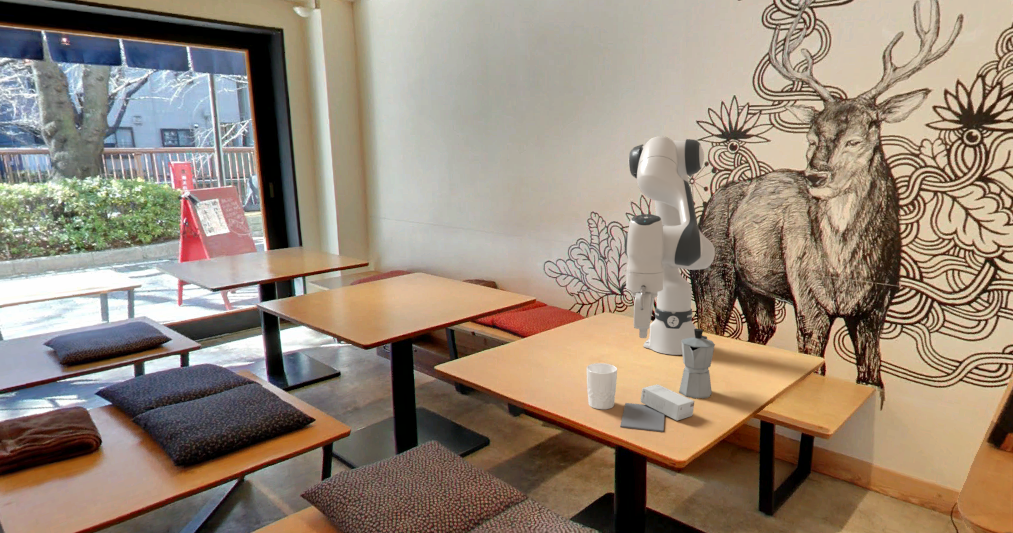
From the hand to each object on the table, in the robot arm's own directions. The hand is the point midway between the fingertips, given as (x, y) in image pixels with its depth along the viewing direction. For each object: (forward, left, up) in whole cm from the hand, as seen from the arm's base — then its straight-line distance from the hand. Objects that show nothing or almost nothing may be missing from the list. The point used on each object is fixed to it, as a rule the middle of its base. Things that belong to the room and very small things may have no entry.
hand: (643, 336), depth 146 cm
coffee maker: (-18, +14, -20) cm, 30 cm away
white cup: (-2, -10, -20) cm, 23 cm away
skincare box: (-6, +1, -17) cm, 18 cm away
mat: (+3, +1, -20) cm, 20 cm away
